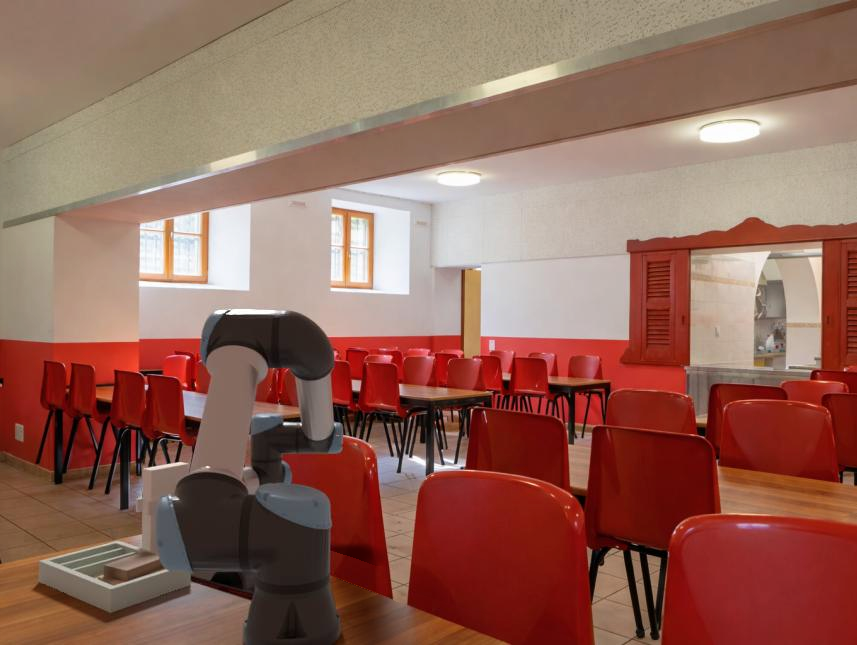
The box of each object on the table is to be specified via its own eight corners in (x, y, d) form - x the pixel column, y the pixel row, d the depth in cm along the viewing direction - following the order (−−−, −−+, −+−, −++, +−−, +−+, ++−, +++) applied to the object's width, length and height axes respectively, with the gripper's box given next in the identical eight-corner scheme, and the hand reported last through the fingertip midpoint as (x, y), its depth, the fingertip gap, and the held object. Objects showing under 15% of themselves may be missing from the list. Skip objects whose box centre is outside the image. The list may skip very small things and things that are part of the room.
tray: (190, 585, 134) (190, 564, 134) (110, 612, 121) (110, 589, 121) (117, 559, 148) (118, 540, 148) (38, 582, 135) (39, 560, 135)
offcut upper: (166, 566, 134) (167, 556, 134) (126, 582, 126) (127, 570, 126) (144, 561, 137) (144, 551, 137) (103, 576, 129) (103, 565, 129)
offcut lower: (169, 579, 133) (169, 569, 133) (120, 596, 124) (120, 584, 124) (146, 572, 137) (147, 561, 137) (97, 587, 128) (97, 576, 128)
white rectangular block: (187, 547, 153) (189, 463, 153) (150, 558, 146) (151, 470, 146) (179, 545, 155) (180, 461, 155) (141, 555, 147) (142, 468, 147)
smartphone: (213, 553, 151) (302, 574, 138) (213, 560, 151) (302, 582, 138) (164, 569, 141) (255, 594, 127) (164, 577, 141) (255, 603, 127)
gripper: (257, 508, 160) (165, 532, 141) (211, 497, 170) (119, 518, 150) (258, 474, 160) (166, 494, 141) (211, 465, 170) (119, 483, 150)
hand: (142, 507), depth 146 cm, fingers closed on white rectangular block, 3 cm apart
